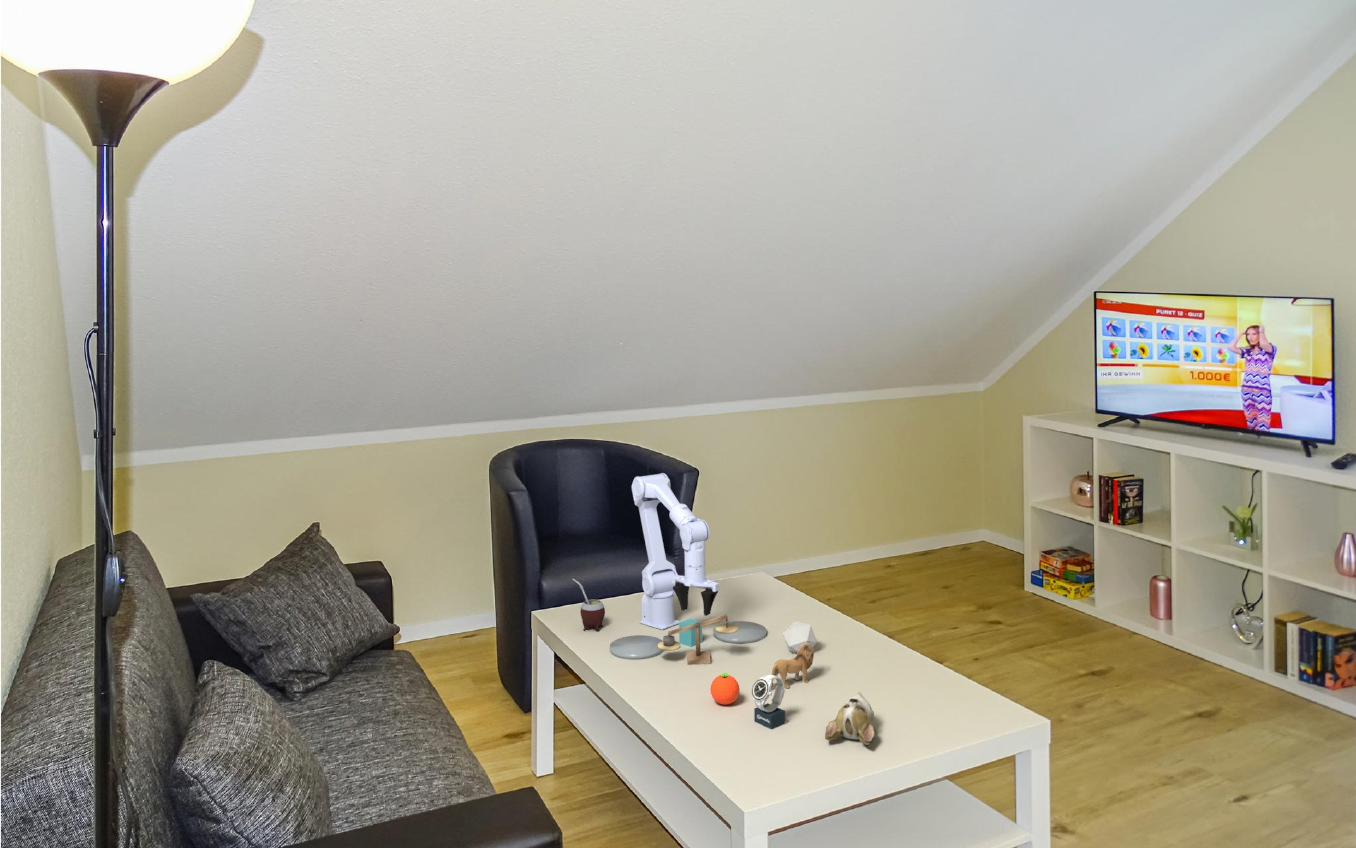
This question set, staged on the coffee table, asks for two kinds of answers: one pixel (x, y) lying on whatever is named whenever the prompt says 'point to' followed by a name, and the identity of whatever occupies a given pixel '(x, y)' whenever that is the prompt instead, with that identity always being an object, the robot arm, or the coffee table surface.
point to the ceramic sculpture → (853, 721)
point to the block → (689, 633)
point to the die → (799, 636)
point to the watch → (769, 712)
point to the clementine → (724, 689)
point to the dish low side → (636, 647)
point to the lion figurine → (795, 664)
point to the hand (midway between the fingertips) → (695, 612)
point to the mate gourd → (591, 612)
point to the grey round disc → (742, 633)
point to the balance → (697, 655)
